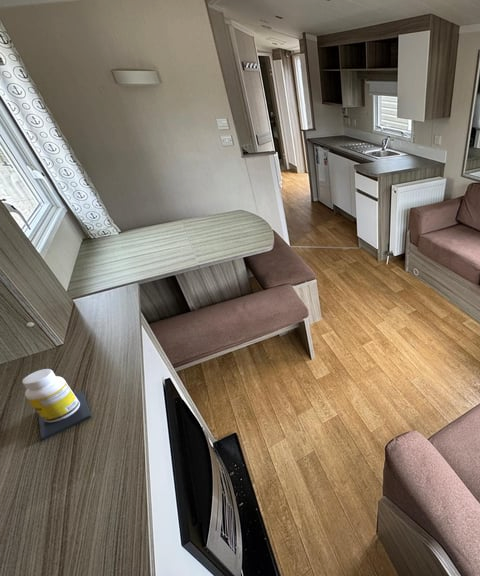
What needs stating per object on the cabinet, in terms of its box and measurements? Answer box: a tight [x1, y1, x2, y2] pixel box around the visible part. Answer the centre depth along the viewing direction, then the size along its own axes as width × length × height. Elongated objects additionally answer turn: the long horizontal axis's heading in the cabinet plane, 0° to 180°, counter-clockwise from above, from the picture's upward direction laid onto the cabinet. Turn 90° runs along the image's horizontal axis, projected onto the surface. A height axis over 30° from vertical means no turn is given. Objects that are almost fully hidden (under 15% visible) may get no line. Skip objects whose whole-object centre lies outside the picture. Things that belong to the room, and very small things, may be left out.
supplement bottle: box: [21, 368, 80, 422], centre depth 59 cm, size 5×5×10 cm
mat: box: [37, 390, 92, 441], centre depth 62 cm, size 10×7×1 cm
